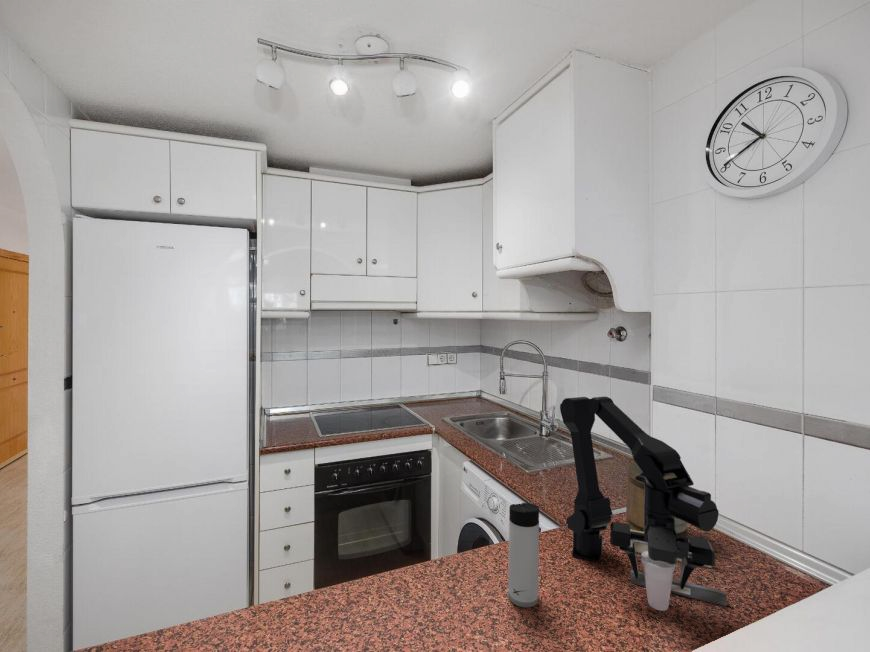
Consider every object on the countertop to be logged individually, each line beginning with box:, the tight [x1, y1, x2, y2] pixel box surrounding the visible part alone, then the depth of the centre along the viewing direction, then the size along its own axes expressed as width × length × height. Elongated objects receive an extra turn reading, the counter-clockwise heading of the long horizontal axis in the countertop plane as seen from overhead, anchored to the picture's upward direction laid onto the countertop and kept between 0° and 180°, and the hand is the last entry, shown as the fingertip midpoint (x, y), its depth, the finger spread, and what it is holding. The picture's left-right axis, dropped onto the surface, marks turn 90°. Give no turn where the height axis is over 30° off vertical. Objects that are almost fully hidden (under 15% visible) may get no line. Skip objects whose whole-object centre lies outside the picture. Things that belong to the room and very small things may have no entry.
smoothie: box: [640, 551, 677, 612], centre depth 85 cm, size 6×6×14 cm
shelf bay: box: [630, 529, 728, 607], centre depth 95 cm, size 18×16×5 cm
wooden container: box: [625, 461, 688, 538], centre depth 113 cm, size 15×15×22 cm
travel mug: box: [507, 502, 540, 608], centre depth 86 cm, size 6×7×20 cm
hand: (658, 582), depth 85 cm, fingers closed on smoothie, 8 cm apart
